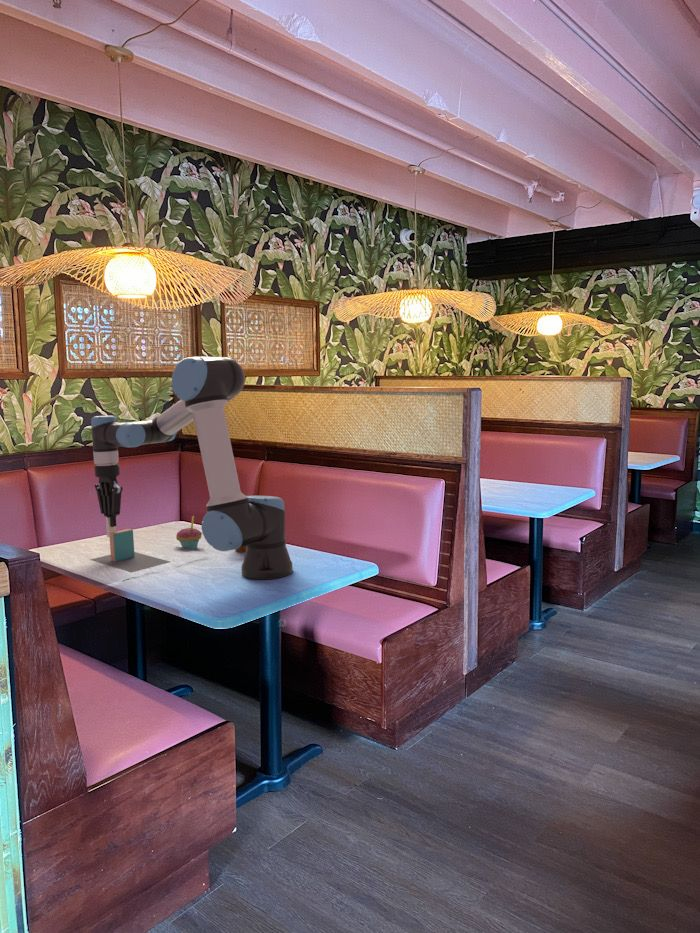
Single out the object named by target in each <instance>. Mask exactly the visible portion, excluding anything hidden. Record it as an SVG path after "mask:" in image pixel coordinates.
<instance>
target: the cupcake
mask: <svg viewBox="0 0 700 933" xmlns="http://www.w3.org/2000/svg"><path fill="white" fill-rule="evenodd" d="M194 519H195V514H194V513H193V515H192V516H191V523H190V527H188V528H181V529H180V530H179V531H177V533H176V535H175V537H176V538H175V539H176V540H177V541H179V544H180V545H181V548H183V549H186V550H191V551H194V550H196V549H198V544H199V541H200V539H201V538H202V535H203V532H202V531H200V530H199V529H197V528H195V527H194V522H195V520H194Z"/></svg>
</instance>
